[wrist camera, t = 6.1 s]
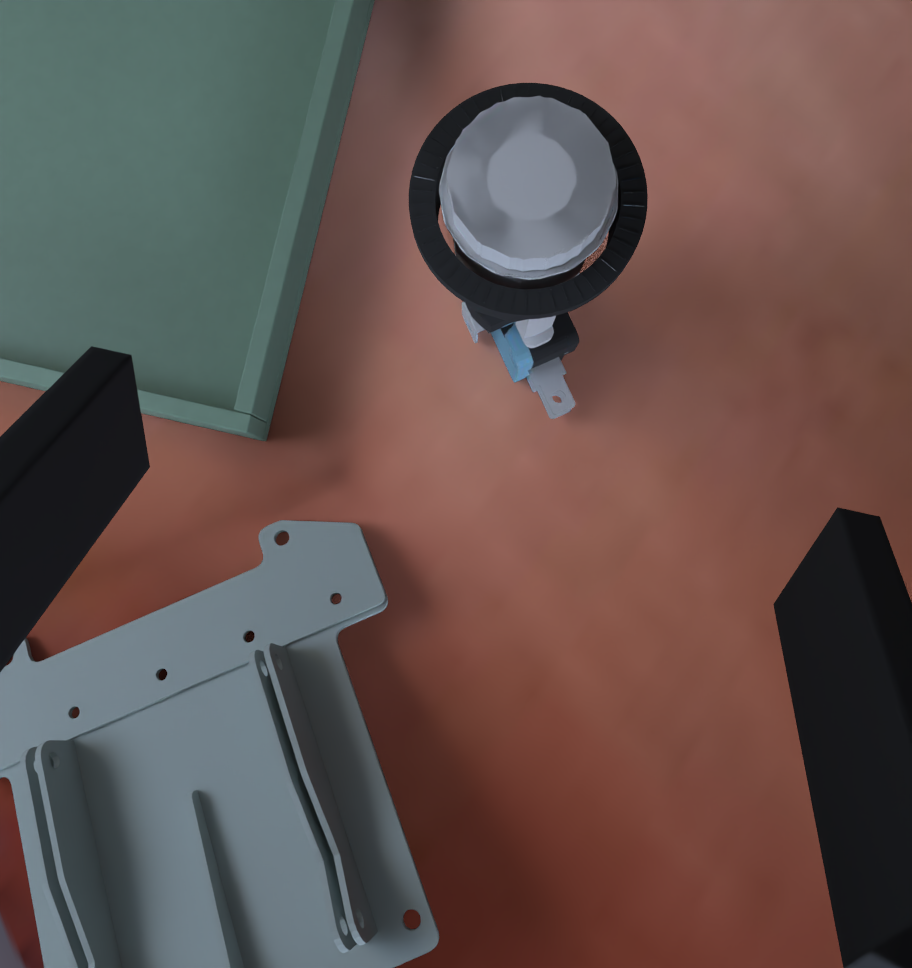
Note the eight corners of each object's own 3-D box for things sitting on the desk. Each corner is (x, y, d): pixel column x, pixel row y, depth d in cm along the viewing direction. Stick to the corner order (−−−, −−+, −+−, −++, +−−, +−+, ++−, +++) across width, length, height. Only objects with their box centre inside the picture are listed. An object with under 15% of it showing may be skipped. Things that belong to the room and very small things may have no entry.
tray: (266, 441, 26) (247, 432, 24) (-187, 338, 27) (-249, 319, 24) (396, -86, 27) (389, -143, 25) (-42, -176, 28) (-88, -240, 25)
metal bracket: (517, 967, 19) (-41, 1215, 19) (527, 918, 25) (93, 1109, 24) (331, 473, 24) (-113, 666, 24) (373, 524, 30) (12, 681, 29)
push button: (629, 386, 26) (728, 295, 16) (485, 451, 26) (494, 400, 16) (547, 211, 26) (593, 16, 16) (405, 274, 26) (365, 117, 16)
